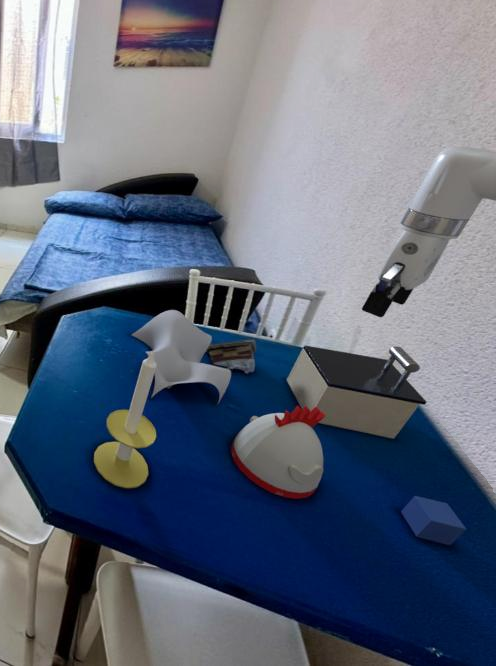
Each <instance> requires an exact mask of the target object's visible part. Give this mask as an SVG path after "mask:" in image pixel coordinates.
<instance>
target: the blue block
mask: <svg viewBox="0 0 496 666" xmlns="http://www.w3.org/2000/svg"><path fill="white" fill-rule="evenodd" d="M400 513H401V514H402V516H403V518H404V519H405V521H406V522H407V524H408V526H409V528H410V529H411V530H412V532H413V533H414V535H415V537H416V538H419V539H422V540H428V541H432V542H434V543H438V544H442V545H446V546H451V545H452V544H453V543H454V542H455V541H456V540H458V539H459V537H461V535H463V533H465V532H466V531H467V528H466V526H465V525H464V524H463V522H462V521H461V519H460V518H459V517H458V516H457V514H456V513H455V512H454V510H453V509H452V508H451V506H450V505H449V504H448V502H443V501H438V500H435V499H429V498H426V497H422V496H418V495H413V497H412V498H411V499H410V500H409V502H408V503H407V504H406V506H404V507H403V509H402V510H401V511H400Z"/></svg>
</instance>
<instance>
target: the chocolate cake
mask: <svg viewBox="0 0 496 666" xmlns="http://www.w3.org/2000/svg"><path fill="white" fill-rule="evenodd" d="M256 342H257V338H256V339H253V338H252V339H244V340H242V339H241V340H234V341H227V342H218V343H210V345H209V347H208V348H207V350H206V352H205V353H207V354H208V355H209V358H210V360H211V365H214V366H218V367H224V368H226V369H229V370H230V371H231V372H233V371H234V369H235V370H240V371H243V373H244V374H250V373H254V371H255V369H256V360H255V355H254V354H255V353H256V351H257V348H258V346H257V343H256Z"/></svg>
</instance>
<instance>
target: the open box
mask: <svg viewBox="0 0 496 666" xmlns="http://www.w3.org/2000/svg"><path fill="white" fill-rule="evenodd" d="M286 382H287V384H288V385H289V387H290V390H291V391H292V394H293V395H294V397H295V399H296V400H297V402H298V404H299V407H300V408H301V409H302V410H303V408H304V407H305V406H307V407H308V408H309V409H310V412H311V411H312V410H313V409H314V408H315V407H317V408H318V409H319V410H320V412H323V413H324V414H325V415H326V416H325V417H324V418H323V419H322V420H321V421H320V422H318V423H317V424H322V425H326V426H327V425H328V426H332V427H336V428H341V429H346V430H352V431H356V432H360V433H365V434H368V435H369V434H370V435H375V436H379V437H384V438H388V439H393V440H394V439H396V437H397V435H398V434H399V433H400V431H401V430H402V429H403V427H404V426H405V425H406V424H407V422H408V421H409V419H410V418H411V417H412V415H413V414H414V413H415V411H416V410H417V409H418V407H419V406H420V404H418V403H413V402H407V401H402V400H397V399H392V398H387V397H381V396H376V395H371V394H366V393H361V392H355V391H350V390H345V389H340V388H335V387H329V386H328V385H327V384H326V382H325V381H324V379H323V378H322V376H321V375H320V373H319V372H318V370H317V368H316V367H315V365H314V364H313V362H312V361H311V359H310V358H309V356H308V355H307V353H306V352H305V350H304V348H303V347H302V349H301V351H300V353H299V355H298V357H297V358H296V361H295V363H294V364H293V367H292V368H291V371H290V373H289V375H288V377H286Z"/></svg>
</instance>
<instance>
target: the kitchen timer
mask: <svg viewBox="0 0 496 666" xmlns="http://www.w3.org/2000/svg"><path fill="white" fill-rule="evenodd" d="M325 416H326V415H325V414H324V413H323V412H320V410H319V409H318V408H317V407H315V408H314V409H313V410H312V411H311V412H310V409H309V408H308V407H307V406H305V407H304V408H303V410H302V408H301V406H300V405H296V407H295V408H294V409H293V410H292V412H291V413H290V412H289V411H288V410H287V409H285V411H284V413H283V412H276V413H268V414H265V415H261V416H257V415H253V416H252V417H250V419H249V423H248V424H246V425H245V426H244V427H243V428H242V429H241V430H240V431H239V432H238V433H237V435H236V437H235V438H234V440H233V442H232V444H231V450H230V451H231V456H232V458H233V461H234V463H235V464H236V466H237V467H238V469H239V470H240V471H241V472H242V473H243V474H244V475H245V476H246V477H247V478H248V479H250V481H251V482H253V483H255V485H257V486H258V487H260V488H261V489H264V490H266V491H268V492H270V493H271V494H275V495H277V496H281V497H283V498H288V499H294V500H298V499H299V500H300V499H305V498H308V497H309V496H311V495H312V494H314V493H315V491H316V489H317V488H318V486H319V484H320V482H321V479H322V477H323V473H324V454H323V448H322V447H323V446H322V443H321V441H320V438H319V436H318V435H317V433H316V432H315V430H314V426H316V425H317V424H319V423H318V422H320V421H321V420H322V419H323V418H324V417H325Z"/></svg>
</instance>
